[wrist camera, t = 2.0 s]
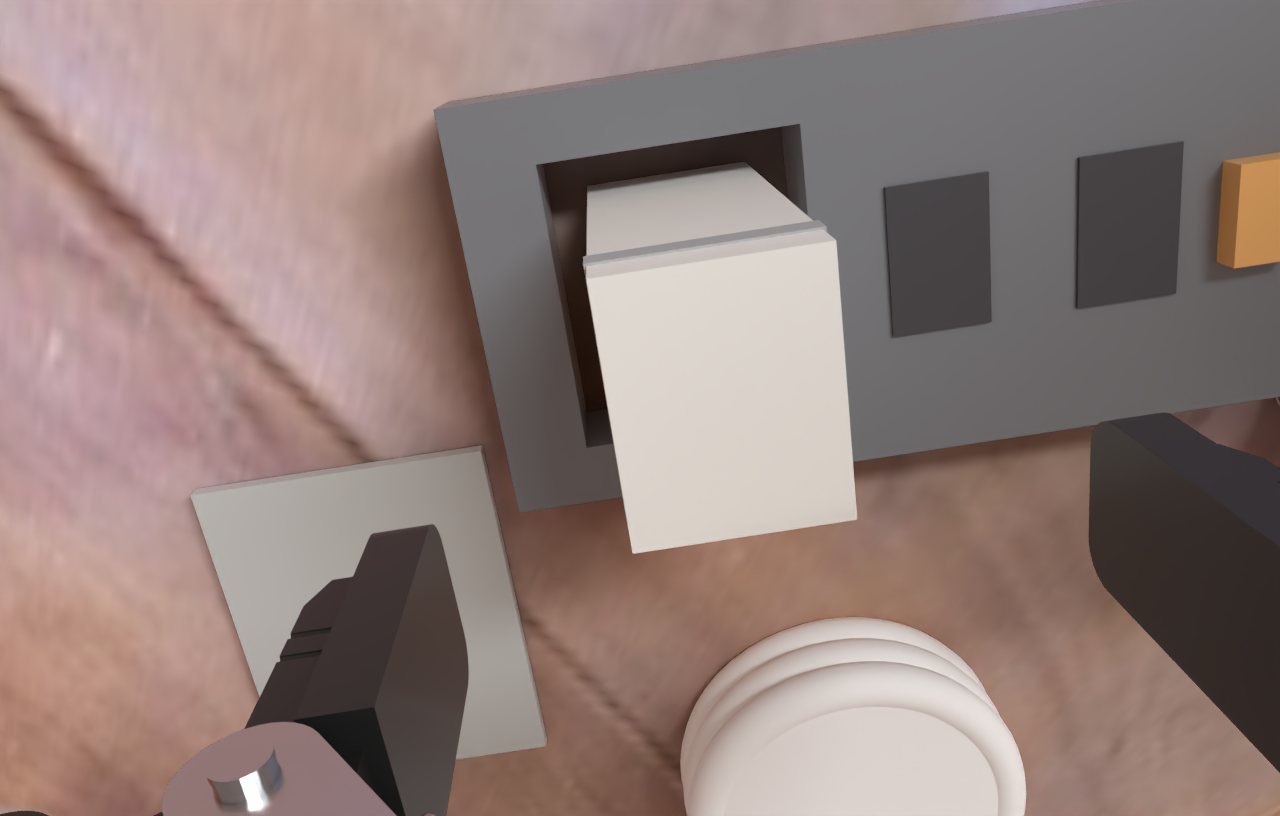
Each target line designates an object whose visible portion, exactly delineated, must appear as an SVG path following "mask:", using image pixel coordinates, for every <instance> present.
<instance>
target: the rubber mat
mask: <svg viewBox="0 0 1280 816" xmlns="http://www.w3.org/2000/svg"><path fill="white" fill-rule="evenodd" d="M190 496H191V499H192V502H193V505H194V508H195V511H196V514H197V517H198V519H199V522H200V525H201V528H202V531H203V534H204V537H205V540H206V543H207V546H208V549H209V552H210V554H211V557H212V560H213V563H214V566H215V569H216V572H217V575H218V578H219V581H220V584H221V587H222V589H223V592H224V595H225V598H226V601H227V604H228V607H229V610H230V613H231V616H232V619H233V622H234V624H235V627H236V630H237V633H238V636H239V639H240V642H241V645H242V648H243V651H244V654H245V657H246V659H247V662H248V665H249V668H250V671H251V674H252V677H253V680H254V683H255V686H256V689H257V692H258V694H259V697H260V696H261V694H262V692H263V689H264V687H265V685H266V683H267V681H268V679H269V677H270V675H271V673H272V671H273V669H274V667H275V664H276V662H280V657H279V656H280V654H281V652H282V650H283V648H284V646H285V644H286V642H287V639H291V634H290V633H291V631H292V629H293V627H294V625H295V623H296V621H297V619H298V617H299V614H300V612H301V610H302V608H303V606H304V605H305V604H306V603H307V602H309V601H310V600H311V599H312V598H313V597H314V596H315V595H316V594H317V593H318V592H319V591H321V590H322V589H323V588H324V587H325V586H326V585H327V584H328V583H329V582H330V581H332V580H335V579H341V578H347V577H353V575H354V573H355V571H356V568H357V566H358V563H359V561H360V559H361V556H362V554H363V551H364V549H365V547H366V544H367V542H368V539H369V537H370V535H371V534H372V533H378V532H385V531H391V530H397V529H404V528H410V527H417V526H423V525H430V524H433V525H435V526H436V528H437V530H438V532H439V534H440V537H441V540H442V544H443V548H444V552H445V556H446V560H447V564H448V568H449V572H450V576H451V581H452V585H453V589H454V593H455V597H456V601H457V605H458V609H459V614H460V618H461V622H462V626H463V630H464V635H465V640H466V646H467V653H468V666H469V680H468V690H467V696H466V702H465V707H464V713H463V719H462V725H461V731H460V737H459V743H458V749H457V755H456V760H458V759H465V758H471V757H478V756H485V755H491V754H498V753H504V752H511V751H518V750H524V749H531V748H538V747H544V746H546V742H547V736H546V732H545V727H544V723H543V718H542V714H541V709H540V705H539V700H538V696H537V691H536V687H535V682H534V678H533V673H532V669H531V664H530V660H529V655H528V650H527V646H526V641H525V637H524V632H523V628H522V623H521V619H520V614H519V610H518V605H517V601H516V596H515V592H514V587H513V583H512V578H511V573H510V569H509V564H508V560H507V555H506V551H505V546H504V542H503V537H502V533H501V528H500V524H499V519H498V515H497V510H496V506H495V501H494V497H493V492H492V487H491V483H490V478H489V474H488V469H487V465H486V460H485V456H484V451H483V447H482V445H480V446H474V447H467V448H461V449H454V450H448V451H441V452H435V453H428V454H422V455H415V456H408V457H402V458H395V459H389V460H382V461H376V462H369V463H363V464H356V465H350V466H343V467H337V468H330V469H324V470H317V471H311V472H304V473H298V474H291V475H285V476H278V477H272V478H265V479H259V480H252V481H245V482H239V483H232V484H226V485H219V486H213V487H206V488H200V489H195V491H194V492H193V493H192V494H191V495H190Z"/></svg>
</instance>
